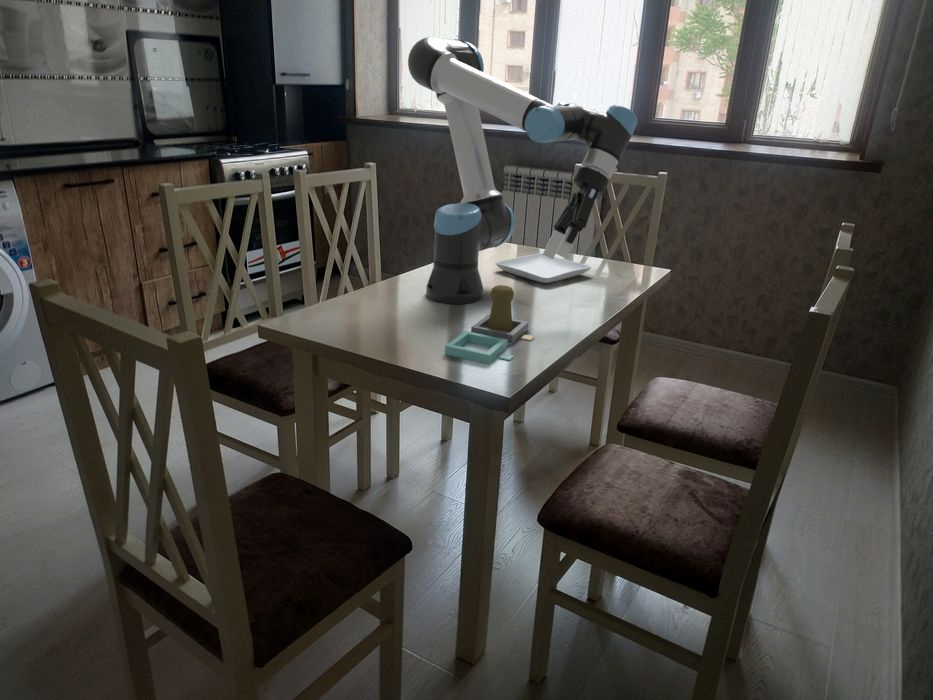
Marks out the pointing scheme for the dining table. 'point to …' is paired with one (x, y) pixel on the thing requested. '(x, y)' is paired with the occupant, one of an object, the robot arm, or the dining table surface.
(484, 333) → the panel
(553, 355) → the dining table surface
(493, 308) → the cork
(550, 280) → the salad plate
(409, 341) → the dining table surface
